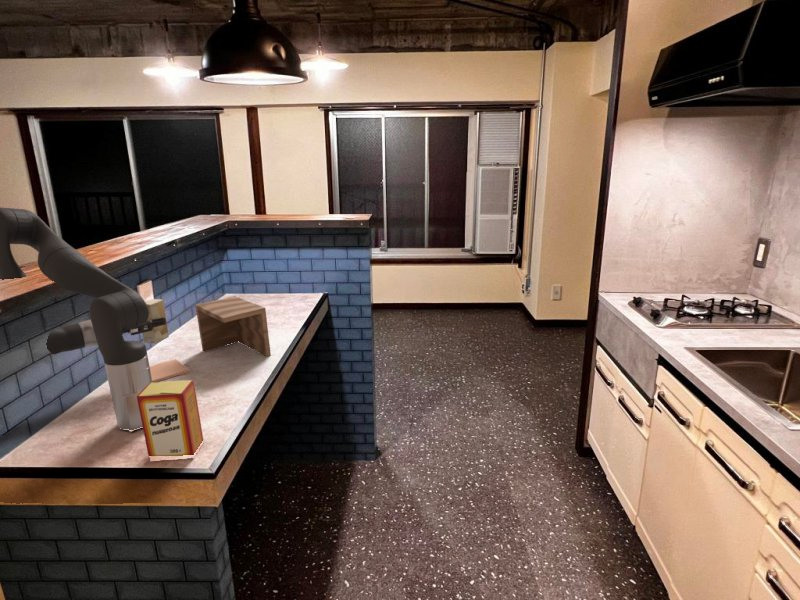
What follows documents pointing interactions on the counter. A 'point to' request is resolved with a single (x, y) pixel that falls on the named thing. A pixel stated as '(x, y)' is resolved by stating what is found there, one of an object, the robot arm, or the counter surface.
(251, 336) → the walnut shelf
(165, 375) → the terracotta tile
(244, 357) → the counter surface
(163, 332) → the skincare box
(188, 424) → the baking soda box
